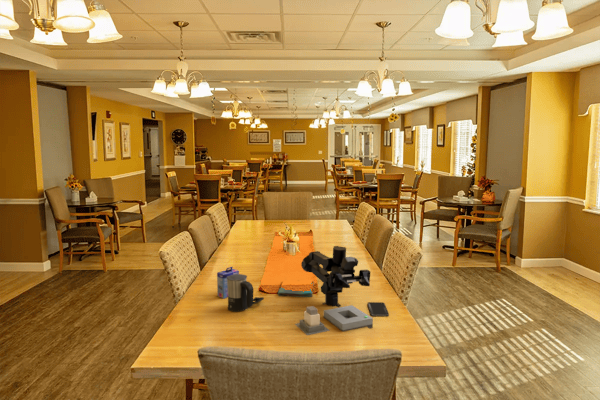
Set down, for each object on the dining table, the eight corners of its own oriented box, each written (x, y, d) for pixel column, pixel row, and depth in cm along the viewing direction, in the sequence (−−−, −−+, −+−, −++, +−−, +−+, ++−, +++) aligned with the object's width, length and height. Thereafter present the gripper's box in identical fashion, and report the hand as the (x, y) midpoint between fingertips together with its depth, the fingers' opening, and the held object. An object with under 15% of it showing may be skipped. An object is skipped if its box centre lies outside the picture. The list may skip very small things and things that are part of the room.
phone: (371, 314, 195) (367, 302, 210) (371, 317, 195) (367, 304, 210) (389, 314, 195) (384, 302, 210) (389, 317, 195) (384, 304, 210)
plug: (304, 325, 184) (304, 306, 183) (313, 323, 185) (313, 304, 184) (310, 330, 178) (310, 311, 177) (319, 329, 180) (319, 309, 179)
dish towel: (276, 297, 221) (276, 292, 220) (282, 282, 244) (282, 277, 243) (312, 298, 219) (312, 293, 219) (314, 283, 243) (314, 278, 242)
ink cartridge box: (223, 299, 217) (223, 270, 215) (216, 296, 221) (215, 267, 219) (239, 294, 224) (239, 265, 222) (232, 291, 228) (232, 263, 226)
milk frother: (223, 310, 203) (222, 278, 201) (240, 299, 218) (239, 269, 216) (251, 314, 198) (251, 282, 196) (267, 302, 213) (266, 272, 211)
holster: (294, 326, 185) (294, 319, 185) (316, 321, 190) (316, 315, 189) (307, 337, 175) (307, 330, 174) (330, 332, 179) (330, 325, 178)
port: (323, 319, 192) (323, 309, 192) (351, 313, 198) (352, 304, 197) (342, 334, 178) (342, 323, 177) (372, 327, 184) (372, 317, 183)
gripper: (323, 255, 192) (340, 268, 178) (362, 253, 199) (381, 265, 185) (321, 280, 194) (338, 295, 180) (359, 277, 201) (378, 291, 187)
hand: (359, 285), depth 183 cm, fingers open, 9 cm apart
